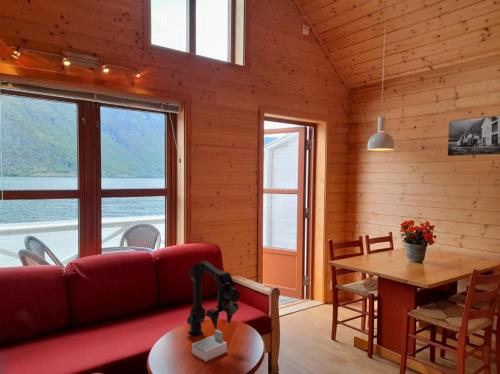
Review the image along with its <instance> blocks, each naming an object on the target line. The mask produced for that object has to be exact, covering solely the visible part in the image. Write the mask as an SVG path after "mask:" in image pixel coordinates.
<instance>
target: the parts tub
mask: <svg viewBox="0 0 500 374" xmlns="http://www.w3.org/2000/svg"><path fill="white" fill-rule="evenodd" d="M212 337H215V335H211V336H208V337H206V338H203V339H202V340H199V341H196V342H193V343H191V344H192V345H191V348H192V349H191V351H192V352H191V354H192V355H194V356H195V357H197V358H199V359H200V360H202V361H204V362H205V363H206V362H208V361H210V360H212V359H214V358H217V357H219V356H221V355H223V354H226V353H227V351H228V342H227V341H224V343H222V344H220V345H218V346H215V347H213V348H211V349H208V350H206V351H205V352H203V351H201V350H200V349H198V348H196V347H194V345H195V344H197V343H200V342H202V341H205V340H207V339H210V338H212Z"/></svg>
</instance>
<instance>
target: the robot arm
mask: <svg viewBox="0 0 500 374" xmlns="http://www.w3.org/2000/svg"><path fill="white" fill-rule="evenodd" d="M205 272H206V273H207V274H209V276H211V277H212V278H213V279H214V282H215V283H216V284H215V287H216V288H217V297H216V298H215V301H217V304H216V306H215V308H216V309H214V308H210V309H207V310H206V309H205V308H204V307H203V304H202V303H203V301H202V300H203V299H202V298H203V297H202V290H203V289H202V281H203V278H204V277H205ZM188 273H189V278H190V279H191V281H192V307H191V309H190V312H189V316H188V317H187V318H186V323H187V324H188V325H189V331H187V334H189V335H191V336H193V337H196V336H198V335H201V334H203V333H204V331H202V323H204V322H205V318H206V317H208V318H209V319H210V320H211V322H212V325H213V327H214V329H215V330H218V320H219V318H220V317H219V316H220V313H224V312H225V313H226V321H227V323H228V324H230V323H231V321H232V318H233V316H234V314H236V312H238V311H239V308H240V307H239V303H238V302H239V299H240V297H241V295H240V292H239V291H238V289H237V288H235V283H234V280H233V278H232V275H231V274H230V273H229V272H228V271H226V270H220V269H219V268H217V267H215V266H214V265H213V264H212V263H210V262H209V261H207V260H204V261H199V262H198V263H197V264H195V265H193V266H190V267H189V270H188Z"/></svg>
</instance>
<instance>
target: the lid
mask: <svg viewBox="0 0 500 374" xmlns="http://www.w3.org/2000/svg"><path fill="white" fill-rule="evenodd" d="M224 342H225V341H224V340H223V331H221V330H219V329H215V330H214V337H212V338H210V339H207V340H205V341H202V342H200V343H197V344H195V345H194V347H196V348H198V349H200V350H201V351H203V352H205V351H206V350H208V349H211V348H213V347H215V346H218V345H220V344H222V343H224Z"/></svg>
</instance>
